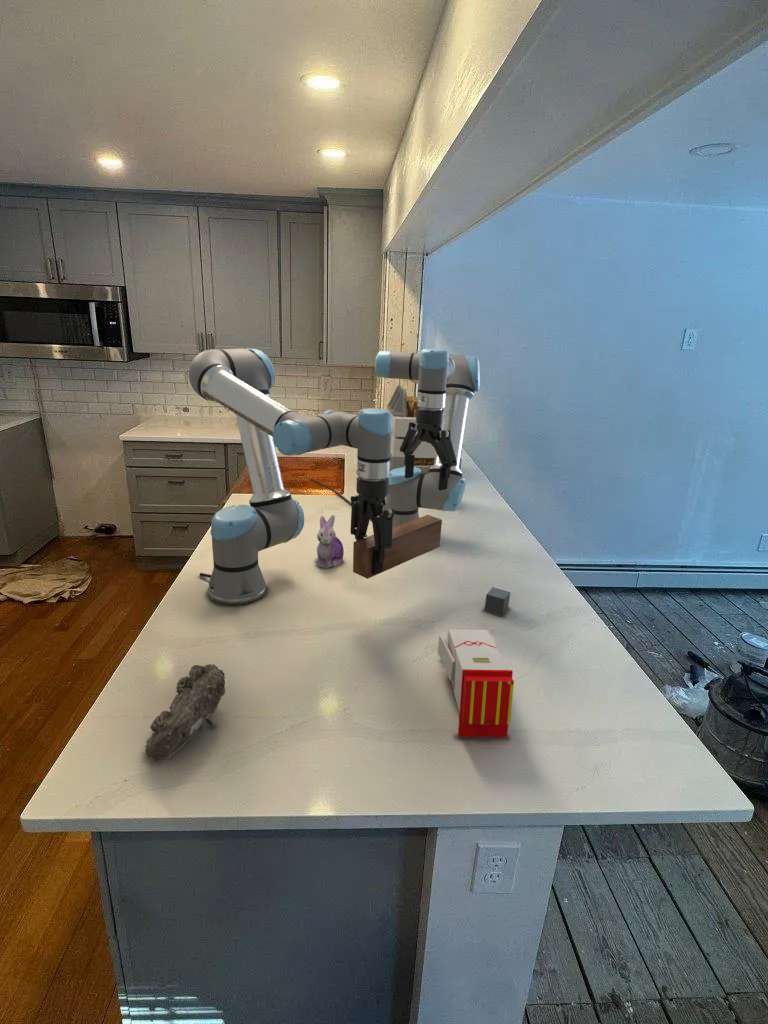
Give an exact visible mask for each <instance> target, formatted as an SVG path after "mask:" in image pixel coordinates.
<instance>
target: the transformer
mask: <svg viewBox="0 0 768 1024" xmlns="http://www.w3.org/2000/svg"><path fill="white" fill-rule="evenodd" d="M407 394H408V393H407V390H406V389H404V388H403V387H402V385H399V384H398V385H397V386H396V388H395V390H394V392H393V394H392V395H391V398H390V400H389V402H388V404H387V405H386V410H387V411H389V412H390V413H391V416H392V436H391V447H390V471H391V470H393V469H396V468H401V467H405V464H404V461H405V455H404V453H403V452H400V447H401V445H402V442H403V440H404V438H405V436H406V433H407V431H408V427H409V423H410V422H417V421H416V412H417V409H418V408H419V407H418V406H417V398H418V395H417V396H415V395H414V396H413V395H412V396H411V395H407ZM417 433H418V431H417V432H416V434H415V436H416V435H417ZM415 436H414V437H415ZM413 440H414V439H413ZM463 442H464V441H463ZM463 442H462V444H463ZM413 453H414V454H411V455H415V456H414V467H417V466H418V467H432V466H433V465H434V460H435V454H436V451H435V448H434V447H433V446H432V445H431V443H427V442H423V441H422V442H421V444H420V445H419V446H418V447H417V449H416V450H415V451H414V452H413ZM462 453H463V448H462V449H461V454H462ZM462 461H463V460H462V455H461V456H460V463H459V469H460V471H461V472H462Z"/></svg>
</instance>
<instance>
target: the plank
mask: <svg viewBox="0 0 768 1024" xmlns="http://www.w3.org/2000/svg"><path fill="white" fill-rule="evenodd" d="M442 523H443V519H442V518H438V517H436V516H433V515H431V514H430V515H429V514H425V515H423V516H419V518H417V519H414V520H412V521H409V522H406V523H404V524H401V525H398V526H396V527H393V528H392V547H391V548H389V549H386V550H385V557H384V561H383V572H381V573H378V574H375V575H373V574H372V563H373V548H376V547H375V540H374V534H372V535H369V536H367V537H364V538H363V539H360V540H358V541H356V540H355V541H353V545H352V546H353V547H352V548H353V552H352V554H353V555H352V572H353V573H354V574H356V575H358V576H360V577H363V578H365V579H367V580H368V579H370V578H373V577H375V576H377V575H379V574H382V573H384V572H386V571H389V570H391V569H393V568H396V567H398V566H400V565H402V564H405V563H407V562H409V561H411V560H413V559H415V558H418V557H420V556H422V555H425V554H427V553H429V552H432V551H434V550H436V549H438V548H440V547H441V538H442V526H443V525H442Z"/></svg>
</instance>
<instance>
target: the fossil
mask: <svg viewBox="0 0 768 1024" xmlns="http://www.w3.org/2000/svg"><path fill="white" fill-rule="evenodd" d="M225 676H226V674H225V672H224V671H223V670H222V669H220V668H219V666H217V665H216V664H215V663H212V664H211V663H208V664H205V665H199V664H193V665H192V666H191V668H190V670H189V672H188V675H186V676H183V677H180V678H179V679H178V680H177V682H176V687H175V688H176V693H177V694H176V695H175V696H174V698H173V699H172V702H171V703H170V706H169V707H168V708H169V710H162V711H161V712H160V713H159V715H157V716H156V717H155V718H154V720H152V722H151V724H150V726H149V728H150V730H151V732H152V734H151V736H150V737H149V738H148V739H147V740H146V745H144V747H145V750H144V753H145V756H146V757H147V758H150V759H152V760H154V761H157V760H161V759H166V758H167V759H170V758H172V757H173V756H174V755H175V753H177V752H178V751H179V750H180V749H182V748H183V747H184V746H185V744H186V743H188V741H189V740H191V739H192V738H193V737H194V736H196V734H197V733H198V731H199V728H201V727H202V726H203V725H204V724H205V722H207V724H209V725H210V726H213V725H214V723H213V722H212V720H210V719H209V716H210V715H212V714H214V712H215V711H216V710H217V708H218V705H219V704H220V702H221V700H222V697H223V696H225V694H226V677H225Z"/></svg>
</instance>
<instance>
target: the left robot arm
mask: <svg viewBox="0 0 768 1024" xmlns="http://www.w3.org/2000/svg"><path fill="white" fill-rule="evenodd" d="M275 374H276V373H275V369H274V365H273V362H272V361H271V359H270V358H269V356H268V355H267V354H265V353H264V352H263V351H262V350H260V349H256V348H248V347H242V348H239V347H238V348H222V349H221V348H220V349H217V348H215V349H213V348H212V349H206V350H203V351H202V352H200V353H198V354H197V355H195V357H194V358H193V359H192V361H191V363H190V365H189V368H188V380H189V383H190V385H191V388H192V389H193V391H194V392H195V393H196V394H197V395H198V396H200V397H201V398H202V399H204V400H205V401H206V402H209V403H211V404H219V405H220V406H223V407H224V408H226V409H227V410H229V411H231V412H232V413H234V414H235V417H236V423H237V427H238V431H239V435H240V440H241V445H242V450H243V454H244V459H245V462H246V463H245V464H246V468H247V473H248V476H249V481H250V486H251V489H252V496H251V497H250V499H249V501H248V502H249V504H238V505H230V506H229V505H228V506H225V507H223V508H221V509H219V510H218V511H216V512H215V513H214V514H213V516H212V518H211V523H210V536H211V545H212V547H211V548H212V560H213V561H212V562H213V569H212V572H211V574H209V573H203V572H200V573H199V574H198V575H199V577H205V578H210V580H209V583H208V586H207V593H208V598H209V599H210V600H212V601H213V602H215V603H218V604H221V605H227V606H238V605H246V604H250V603H253V602H255V601H257V600H259V599H261V598H262V597H263V596H265V594H266V591H267V582H266V580H265V577H264V575H263V572H262V570H261V568H260V565H259V552H260V551H263V550H266V549H269V548H272V547H275V546H277V545H280V544H285V543H288V542H290V541H292V540H293V539H295V538H298V536H299V535H300V534H301V532H302V531H303V529H304V526H305V513H304V510H303V507H302V505H301V504H300V502H299V501H298V500H297V499H295V498H293V497H292V494H291V492H290V491H288V490H287V489H285V486H284V481H283V477H282V473H281V467H280V463H279V458H278V454H277V451H278V452H279V453H280V454H282V455H284V456H289V457H290V456H301V455H305V454H307V453H312V452H316V451H320V450H325V449H330V448H334V447H339V446H345V447H348V448H353V449H357V455H356V457H357V462H356V463H357V465H356V467H357V468H356V475H357V478H356V487H355V488H356V489H355V491H356V493H357V494H356V495H355V494H354V495H351V496H350V502H351V504H352V505H351V513H350V516H351V517H350V535H351V536H354V539H355V541H358V540H360V539H363V538H366V537H368V534H367V532H368V527H369V524H370V522H371V525H372V532H373V535H374V540H375V547H376V548H373V563H372V574H373V575H375V574H377V575H379V574H378V573H380V574H382V573H384V572H383V561H384V557H385V550H386V549H389V548H391V547H392V524H393V516H394V513H395V511H394V509H389V508H388V507H387V506H386V495H387V494H388V492H389V479H388V477H389V475H390V447H391V436H392V416H391V413H390V412H389V411H387V409H383V408H375V407H371V408H369V407H368V408H367V407H366V408H361V410H359V412H358V414H353V413H348V412H345V411H342V410H338V409H336V410H333V409H332V410H331V409H327V410H324V411H322V413H321V414H319V415H315V416H314V415H313V416H308V417H307V416H303V415H302V414H300V413H298V412H296V411H294V410H292V409H291V408H289V407H287V406H286V405H284V404H282V403H281V402H279V401H277V400H275V399H273V398H272V397H271V393H270V390H271V389H272V388H273V386H274V384H275V382H274V381H275V378H276V375H275ZM276 448H277V450H276ZM381 572H382V573H381ZM375 576H376V575H375Z"/></svg>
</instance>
